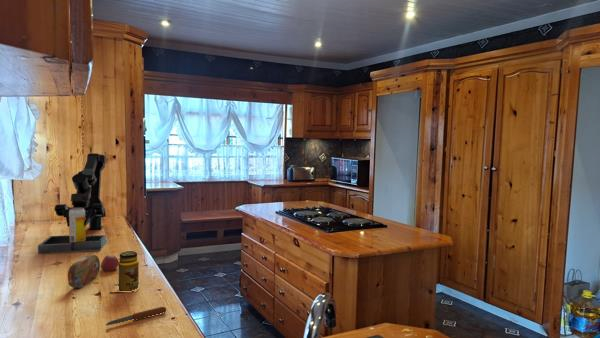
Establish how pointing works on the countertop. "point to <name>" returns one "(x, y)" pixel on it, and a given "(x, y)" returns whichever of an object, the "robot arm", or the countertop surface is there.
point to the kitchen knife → (139, 315)
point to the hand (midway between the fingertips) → (76, 226)
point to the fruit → (109, 263)
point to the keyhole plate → (71, 244)
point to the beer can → (77, 225)
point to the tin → (83, 271)
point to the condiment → (128, 271)
